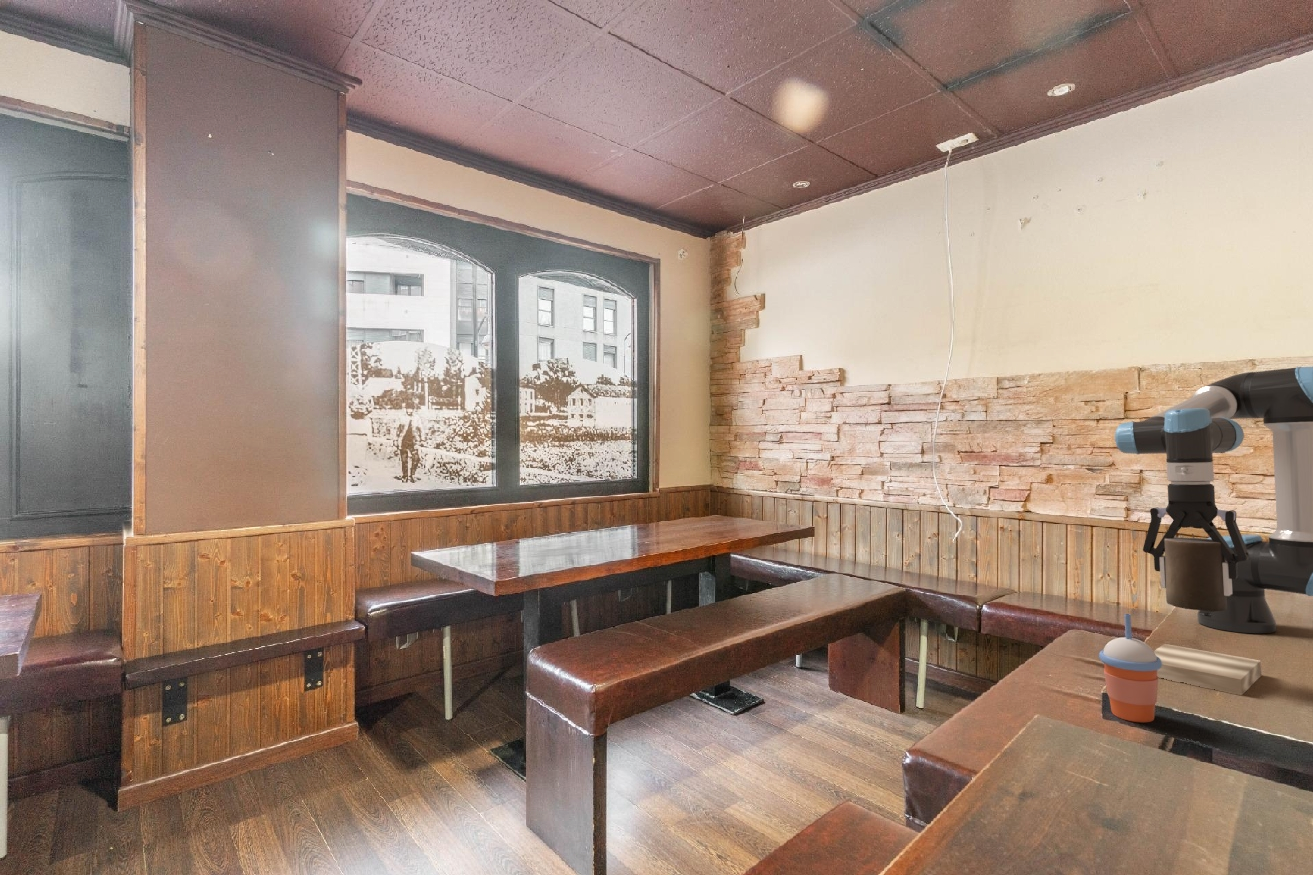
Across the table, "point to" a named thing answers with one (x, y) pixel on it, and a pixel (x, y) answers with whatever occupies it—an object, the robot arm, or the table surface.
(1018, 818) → the table surface
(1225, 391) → the robot arm
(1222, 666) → the wooden block
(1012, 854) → the table surface
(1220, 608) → the pillar candle
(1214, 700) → the table surface
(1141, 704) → the cup with straw
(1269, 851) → the table surface
